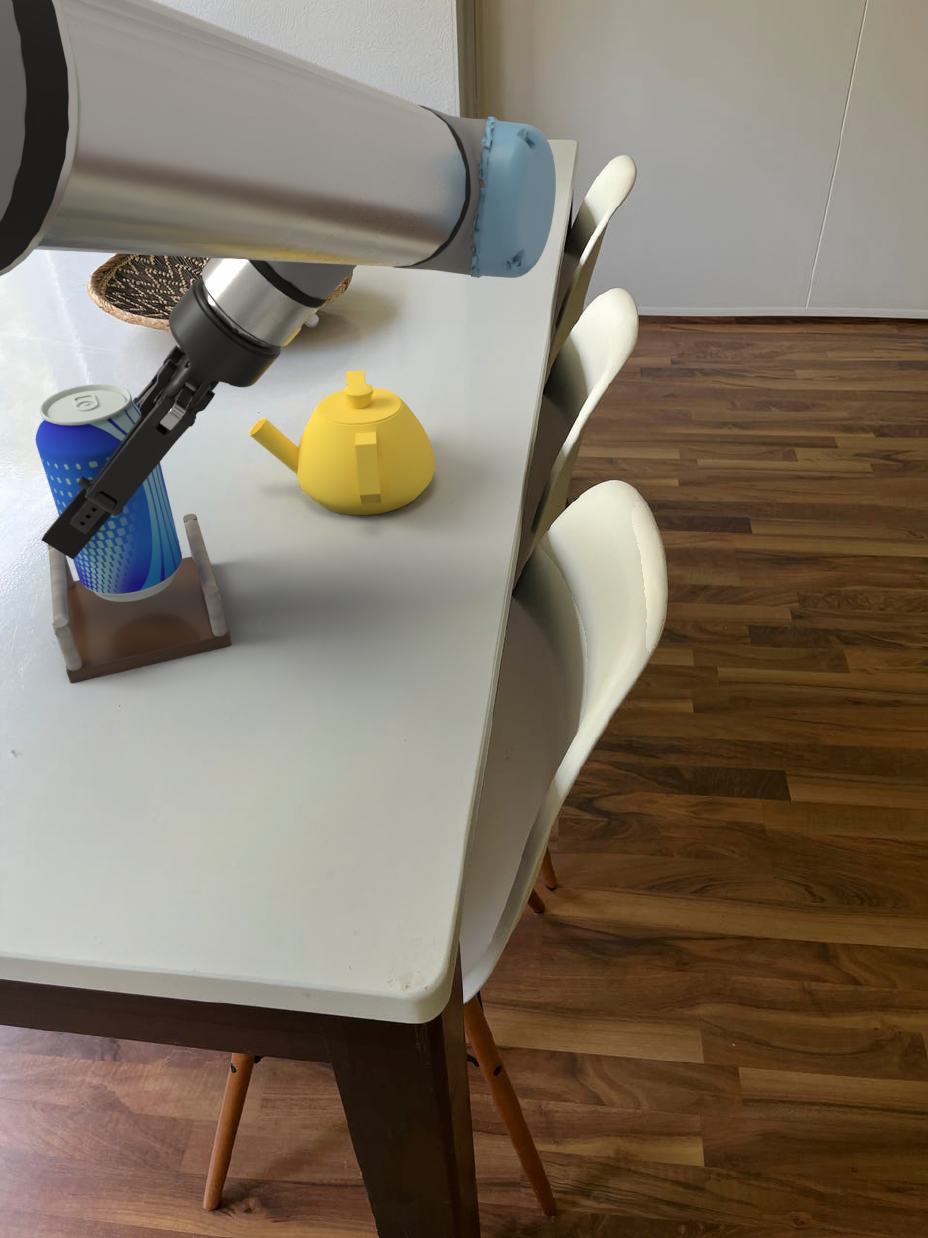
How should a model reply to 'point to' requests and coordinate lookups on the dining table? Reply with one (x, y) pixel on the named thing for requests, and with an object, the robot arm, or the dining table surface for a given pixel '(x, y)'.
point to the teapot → (356, 450)
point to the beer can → (144, 531)
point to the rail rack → (138, 617)
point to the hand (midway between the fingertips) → (74, 516)
